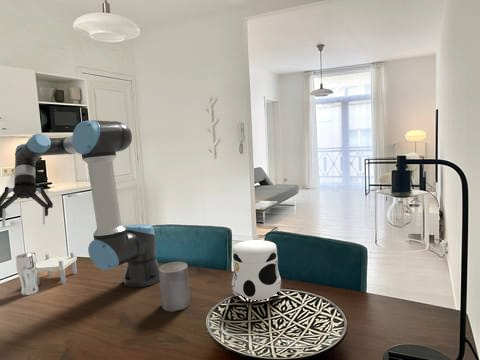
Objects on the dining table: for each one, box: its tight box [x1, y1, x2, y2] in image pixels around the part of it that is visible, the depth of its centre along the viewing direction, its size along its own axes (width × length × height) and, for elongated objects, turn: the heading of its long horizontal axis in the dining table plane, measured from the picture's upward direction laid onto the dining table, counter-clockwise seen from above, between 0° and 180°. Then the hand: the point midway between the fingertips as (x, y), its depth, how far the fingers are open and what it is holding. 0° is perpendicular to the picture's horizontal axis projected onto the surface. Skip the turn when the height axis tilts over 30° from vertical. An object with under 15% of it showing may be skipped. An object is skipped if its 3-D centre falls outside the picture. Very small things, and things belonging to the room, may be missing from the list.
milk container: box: [231, 239, 282, 300], centre depth 123 cm, size 17×17×18 cm
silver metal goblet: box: [15, 252, 40, 296], centre depth 137 cm, size 7×7×15 cm
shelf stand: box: [37, 251, 78, 286], centre depth 151 cm, size 13×13×10 cm
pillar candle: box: [159, 261, 191, 313], centre depth 119 cm, size 10×10×15 cm
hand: (24, 224), depth 139 cm, fingers open, 13 cm apart
